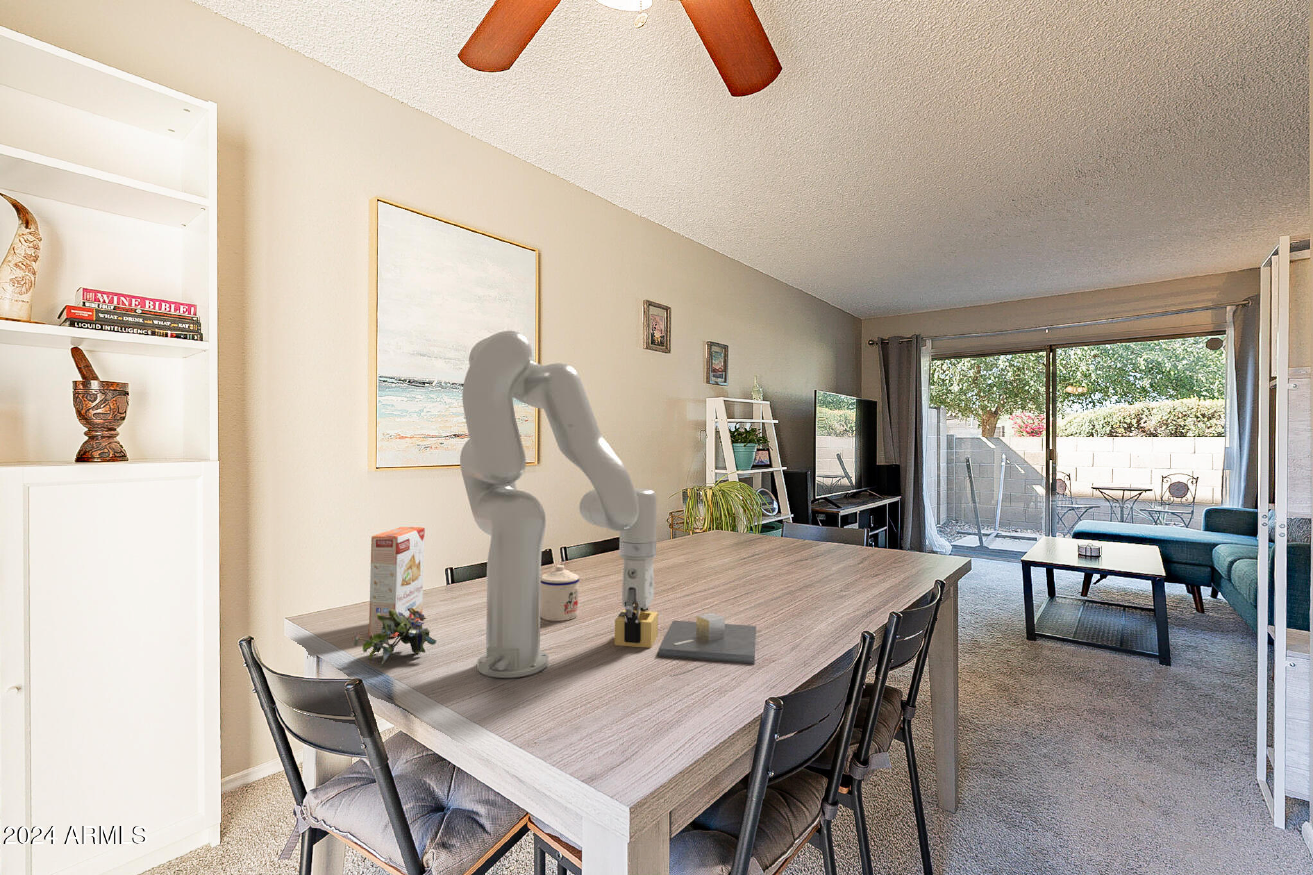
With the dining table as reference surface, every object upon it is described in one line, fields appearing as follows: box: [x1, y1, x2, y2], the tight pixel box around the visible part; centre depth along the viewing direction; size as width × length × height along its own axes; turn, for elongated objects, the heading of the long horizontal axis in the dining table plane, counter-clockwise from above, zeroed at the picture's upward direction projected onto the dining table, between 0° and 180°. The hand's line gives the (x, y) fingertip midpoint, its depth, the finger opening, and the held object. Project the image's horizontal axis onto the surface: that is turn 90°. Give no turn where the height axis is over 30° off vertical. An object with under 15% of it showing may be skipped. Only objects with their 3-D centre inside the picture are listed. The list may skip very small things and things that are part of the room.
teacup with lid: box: [540, 564, 580, 622], centre depth 141 cm, size 12×9×12 cm
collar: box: [614, 609, 659, 649], centre depth 123 cm, size 7×7×5 cm
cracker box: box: [368, 526, 426, 638], centre depth 129 cm, size 14×6×21 cm, turn 179°
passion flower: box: [353, 608, 437, 666], centre depth 111 cm, size 11×11×12 cm
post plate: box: [658, 612, 757, 665], centre depth 121 cm, size 18×18×6 cm
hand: (636, 635), depth 123 cm, fingers closed on collar, 7 cm apart
